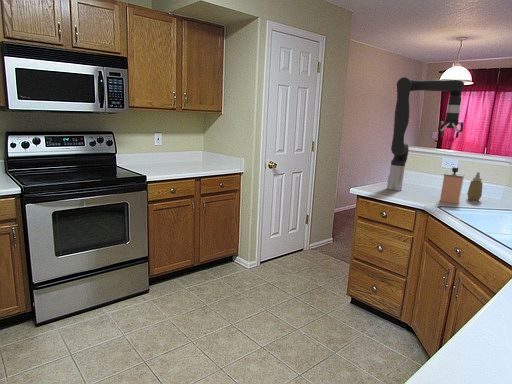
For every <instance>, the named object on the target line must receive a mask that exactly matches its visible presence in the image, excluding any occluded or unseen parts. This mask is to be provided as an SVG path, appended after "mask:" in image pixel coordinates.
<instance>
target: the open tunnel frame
mask: <svg viewBox="0 0 512 384" xmlns="http://www.w3.org/2000/svg"><path fill="white" fill-rule="evenodd" d="M464 178H465V176H464V177H463V178H461V177H453V176H445V175H444V174H443V180H442V186H441V193H440V197H439V198H440V199H439V202H443V203H449V204H450V203H451V204H456V205H459V203H460V201H461V195H462V189H463V183H464Z"/></svg>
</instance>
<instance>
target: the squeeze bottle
mask: <svg viewBox="0 0 512 384" xmlns="http://www.w3.org/2000/svg"><path fill="white" fill-rule="evenodd" d="M480 175H481V174H480V172H476V175H475V177H473V178H472V180H471V181H470V183H469V187H468V190H467V193H466V195H467V199H468V200H469V201H472V202H478V201H479V200H481V198H482V196H483V182H482V178H481V177H480ZM479 202H480V201H479Z"/></svg>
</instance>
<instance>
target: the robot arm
mask: <svg viewBox="0 0 512 384" xmlns="http://www.w3.org/2000/svg"><path fill="white" fill-rule="evenodd" d="M396 82H397V83H396V104H395V109H394V117H393V118H394V119H393V134H392V135H393V136H392V142H391V147H390V149H391V153H392V154H393V158H392V159H391V161H390V168H389V175H388V177H387V183H386V185H387V186H386V189H387V190H391V191H398V192H399V191H402V190H403V182H404V175H405V168H406V163H407V161H408V155H409V144H408V143H407V142H405V134H406V130H407V128H408V125H409V121H410V94H411V93H410V92H415V91H417V92H418V91H426V92H427V91H429V92H447V91H448V92H449V98H448V103H447V108H446V111H445V112H446V113H445V119H444V121H442V120H440V121H439V122H438V127H437V131H440V134H439V136H440V138H443V135H444V131H445V130H446V129H452V130H453V129H454V130H455V132H456V133H455V139H458V138H459V136H460V135H459V134H460V133H462V132H463V131H464V122H463V121H462V122H460V121H459V118H460V113H461V104H462V94H463V93H462V92H463V89H464V87H465V81H463V80H461V79H448V80H447V79H429V80H414V79H410V78H409V77H407V76H402V77H400V78H399V79H398V80H397V81H396ZM443 124H444V126H443V127H442V125H443ZM458 125H459V127H460V129H459V128H458V127H457V126H458ZM441 127H442V128H441Z"/></svg>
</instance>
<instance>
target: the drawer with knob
mask: <svg viewBox="0 0 512 384" xmlns="http://www.w3.org/2000/svg"><path fill="white" fill-rule="evenodd" d="M458 172H459V167H455V166H454V167H452V169H451V172H450V171H449V172H447V171H445V173H443V176H444V175H445V176H453V177H461V178H463V177H464V178H465V174H464V173H458Z"/></svg>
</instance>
